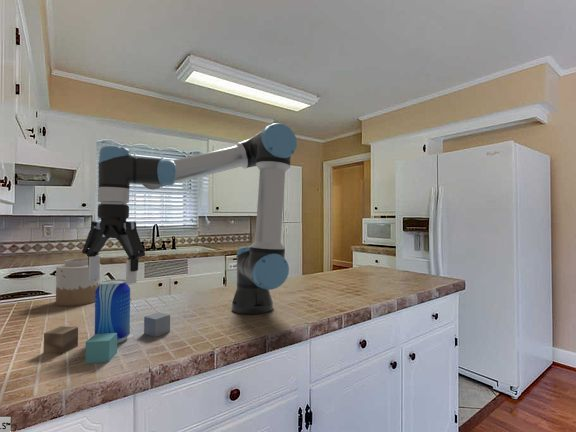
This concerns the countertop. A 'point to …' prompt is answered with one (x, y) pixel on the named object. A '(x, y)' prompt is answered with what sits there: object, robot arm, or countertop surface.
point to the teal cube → (101, 348)
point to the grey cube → (156, 324)
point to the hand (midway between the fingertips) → (112, 281)
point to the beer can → (113, 308)
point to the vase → (75, 283)
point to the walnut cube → (60, 340)
